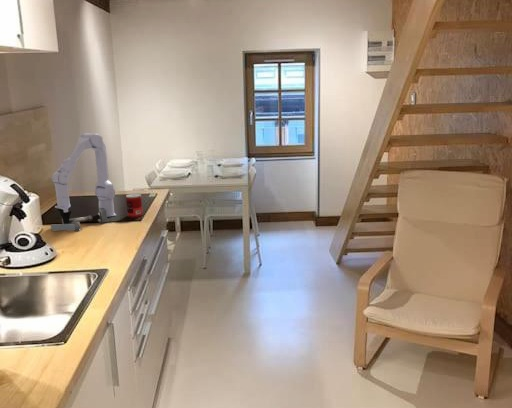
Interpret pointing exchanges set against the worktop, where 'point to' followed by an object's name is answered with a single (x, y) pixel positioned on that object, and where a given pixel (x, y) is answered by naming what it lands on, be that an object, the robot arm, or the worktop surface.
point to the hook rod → (80, 219)
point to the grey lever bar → (65, 226)
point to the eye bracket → (103, 216)
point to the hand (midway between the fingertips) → (66, 223)
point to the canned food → (134, 205)
